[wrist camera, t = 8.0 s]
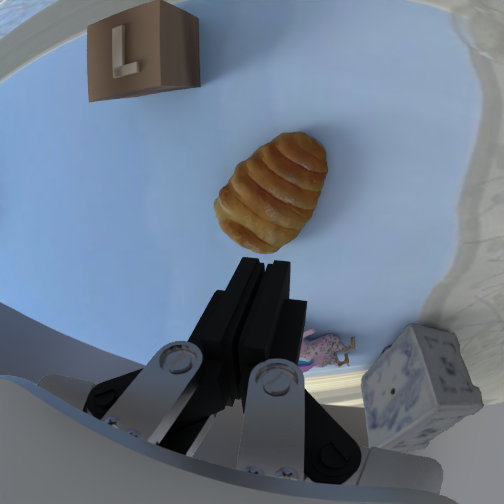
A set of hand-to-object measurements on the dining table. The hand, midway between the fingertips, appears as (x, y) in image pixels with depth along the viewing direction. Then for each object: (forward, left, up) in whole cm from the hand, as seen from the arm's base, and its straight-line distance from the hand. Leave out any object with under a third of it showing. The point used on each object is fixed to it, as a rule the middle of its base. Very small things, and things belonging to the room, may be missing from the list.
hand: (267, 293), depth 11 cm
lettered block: (+10, -11, -13) cm, 20 cm away
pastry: (+2, 0, -14) cm, 14 cm away
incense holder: (-14, +17, -13) cm, 25 cm away
